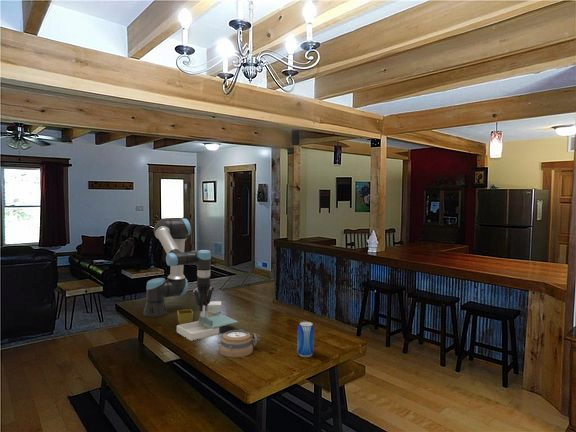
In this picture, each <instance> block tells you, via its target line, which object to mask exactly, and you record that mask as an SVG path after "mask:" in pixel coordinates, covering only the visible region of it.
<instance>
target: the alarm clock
mask: <svg viewBox="0 0 576 432" xmlns="http://www.w3.org/2000/svg"><path fill="white" fill-rule="evenodd" d="M260 337H261V336H260V334H258V333H255V332H248V331H246V330H244V329H232V330H228V331H226V332H223V335H222V337H221V341H219V342H217V344H219V353H220V354H221V355H222V356H224V357H228V358H244V357H246V356H247V357H248V356H249V355H251V354H252V353H253V351H254V347H256V346H257V344H258V341H260V340H261V339H260Z"/></svg>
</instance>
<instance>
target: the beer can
mask: <svg viewBox="0 0 576 432" xmlns="http://www.w3.org/2000/svg"><path fill="white" fill-rule="evenodd" d="M296 340H297V345H296V348H297V349H296V352H297V354H298V356H299V357H301V358H310V357H312V356H313V354H314V353H315V352H314V351H315V349H314V348H315V327H314V323H312V322H310V321H301V322H299V325H298V327H297V339H296Z"/></svg>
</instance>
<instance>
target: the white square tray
mask: <svg viewBox="0 0 576 432" xmlns="http://www.w3.org/2000/svg"><path fill="white" fill-rule="evenodd" d="M176 333H177V334H179V335H181V336H182V337H184V338H185V337H186V339H187V340H189V341H190V342H192V341H193V340H194V341H198V340H201V339H206V338H209V337H214V336H218V335H220V327H217V328H211V327H209V326H207V325H205V324H203V323H201V322H199V321H198V320H197V321H196V320H195V321H192V322H191V323H186V324H181V325H180V324H178V325H176ZM197 339H198V340H197Z"/></svg>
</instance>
